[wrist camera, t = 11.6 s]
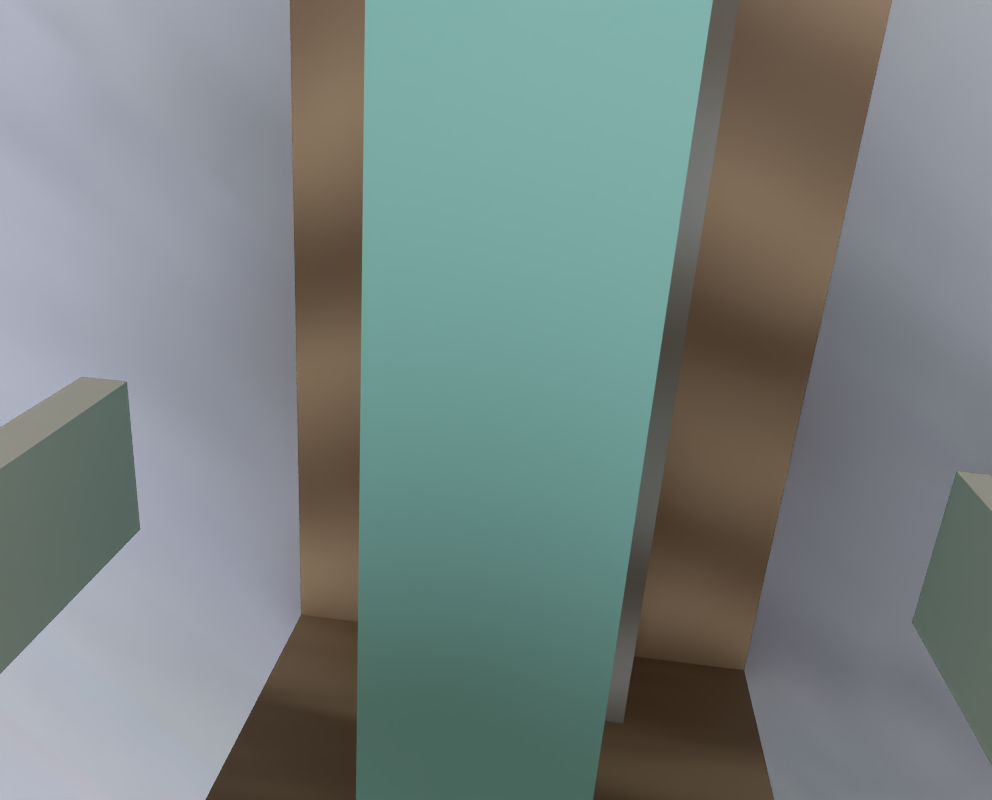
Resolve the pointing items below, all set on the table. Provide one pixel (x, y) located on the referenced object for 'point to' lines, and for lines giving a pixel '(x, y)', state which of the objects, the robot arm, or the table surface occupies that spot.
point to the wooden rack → (674, 416)
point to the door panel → (508, 374)
